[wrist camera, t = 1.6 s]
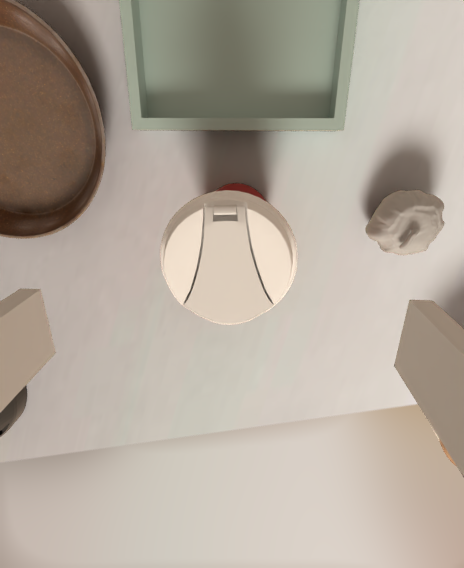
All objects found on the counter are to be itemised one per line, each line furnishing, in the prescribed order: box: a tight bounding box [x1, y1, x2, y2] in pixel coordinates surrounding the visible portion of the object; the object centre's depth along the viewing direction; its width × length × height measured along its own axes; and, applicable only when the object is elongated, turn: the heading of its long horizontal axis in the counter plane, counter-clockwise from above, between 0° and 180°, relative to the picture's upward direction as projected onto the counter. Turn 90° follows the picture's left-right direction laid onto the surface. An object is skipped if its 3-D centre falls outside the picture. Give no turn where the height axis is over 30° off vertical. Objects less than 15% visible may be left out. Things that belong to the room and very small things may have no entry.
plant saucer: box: [0, 0, 106, 239], centre depth 28 cm, size 18×18×3 cm
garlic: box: [366, 190, 444, 255], centre depth 28 cm, size 6×5×5 cm
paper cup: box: [160, 183, 298, 325], centre depth 24 cm, size 8×8×14 cm
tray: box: [119, 0, 360, 131], centre depth 24 cm, size 16×16×2 cm
